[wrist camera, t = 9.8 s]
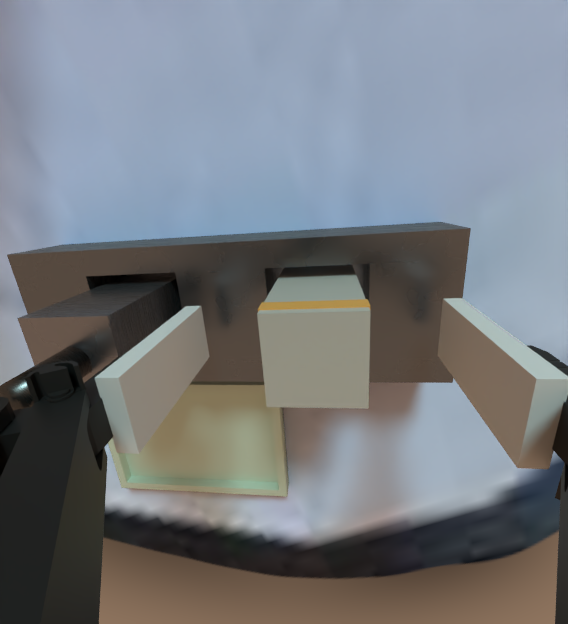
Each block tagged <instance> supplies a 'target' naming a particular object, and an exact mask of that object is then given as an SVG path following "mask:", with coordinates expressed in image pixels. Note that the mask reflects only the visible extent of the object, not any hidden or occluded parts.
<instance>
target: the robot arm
mask: <svg viewBox="0 0 568 624" xmlns="http://www.w3.org/2000/svg"><path fill="white" fill-rule="evenodd" d="M438 357H439V358H440V360H441V361H442V362H443V364H444V365H445V367H446V368H447V369H448V371H449V372H450V374H451V375H452V376H453V378H454V379H455V381H456V382H457V383H458V385H459V386H460V388H461V389H462V391H463V392H464V393H465V395H466V396H467V398H468V399H469V400H470V402H471V403H472V405H473V406H474V407H475V409H476V410H477V412H478V413H479V414H480V416H481V417H482V419H483V420H484V421H485V423H486V424H487V426H488V427H489V429H490V430H491V431H492V433H493V434H494V436H495V437H496V438H497V440H498V441H499V443H500V444H501V445H502V447H503V448H504V450H505V451H506V452H507V454H508V455H509V457H510V458H511V459H512V461H513V462H514V464H515V465H516V467H517V468H532V469H549V466H550V462H551V458H552V454H553V450H554V451H555V452H556V453H557V455H558V456H559V457H560V458H561V459H562V460H563V461H564V462H565V464H564V467H563V471H562V475H561V478H560V482H559V486H558V489H557V493H556V496H555V498H557V499H559V500H560V519H559V544H558V568H557V592H556V616H555V624H568V366H567V365H565V364H564V363H563V362H560V360H558V359H557V358H555V357H554V356H553V355H551V354H550V353H548V352H546V351H543V350H541V349H539V348H536V347H534V346H526V345H525V344H523V343H522V342H521V341H519V340H518V339H517V338H515V337H514V336H513V335H511V334H510V333H508V332H507V331H506V330H504V329H503V328H502V327H500V326H499V325H498V324H496V323H495V322H494V321H492V320H491V319H489V318H488V317H487V316H485V315H484V314H483V313H481V312H480V311H479V310H477V309H476V308H475V307H473V306H472V305H470V304H469V303H468V302H466V301H465V300H464V299H462V298H446V299H443V304H442V314H441V325H440V335H439V345H438ZM208 358H209V351H208V344H207V338H206V332H205V326H204V320H203V314H202V307H201V306H186V307H185V308H183V309H182V310H181V311H179V312H178V313H177V314H176V315H174V316H173V317H172V318H170V319H169V320H168V321H167V322H165V323H164V324H163V325H161V326H160V327H159V328H158V329H156V330H155V331H154V332H153V333H151V334H150V335H149V336H147V337H146V338H145V339H144V340H142V341H141V342H140V343H138V344H137V345H136V346H135V347H133V348H132V349H131V350H129V351H128V352H127V353H125V354H123V355H121V356H118V357H117V358H116V359H114V360H113V361H112V362H111V363H109V365H107V366H105V367H104V368H103V369H102V371H99V372H98V373H96V374H95V375H94V376H92V377H91V378H90V379H88V380H87V381H86V382H85V383H84V382H83V379H82V376H81V372H80V369H79V366H78V363H77V362H75V361H62V362H56V363H52V364H49V365H45V366H43V367H41V368H38V369H36V370H34V371H32V372H31V373H29V374H28V375H27V376H26V377H25V380H26V383H27V386H28V388H29V391H30V394H31V396H32V399H33V401H34V404H33V406H32V407H30V408H24V409H18V410H13V409H12V407H11V405H10V402H9V400H8V398H6V397H0V624H99V606H100V605H99V604H100V587H101V567H102V549H103V530H104V511H105V492H106V473H107V455H106V452H105V449H104V447H105V446H106V444H107V443H108V442H109V441H110V440H111V439H112V438H113V441H114V445H115V448H116V451H117V453H131V454H139V453H140V452H141V451H142V449H143V448H144V446H145V445H146V444H147V442H148V441H149V440H150V438H151V437H152V435H153V434H154V433H155V431H156V430H157V429H158V427H159V426H160V424H161V423H162V422H163V420H164V419H165V418H166V416H167V415H168V413H169V412H170V411H171V409H172V408H173V407H174V405H175V404H176V402H177V401H178V400H179V398H180V397H181V395H182V394H183V393H184V391H185V390H186V389H187V387H188V386H189V384H190V383H191V382H192V380H193V379H194V378H195V376H196V375H197V373H198V372H199V371H200V369H201V368H202V367H203V365H204V364H205V362H206V361H207V360H208Z"/></svg>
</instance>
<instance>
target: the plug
mask: <svg viewBox="0 0 568 624" xmlns="http://www.w3.org/2000/svg"><path fill="white" fill-rule="evenodd" d="M257 318H258V327H259V337H260V347H261V357H262V366H263V376H264V386H265V395H266V405H267V407H288V408H354V409H369V361H370V304H369V301H368V299H366V298H365V296H364V293H363V291H362V288H361V286H360V283H359V281H358V278H357V276H356V273H355V271H354V268H353V266H352V265H347V266H324V267H302V268H284V269H283V271H282V272H281V274H280V276H279V277H278V279H277V281H276V282H275V284H274V286H273V288H272V289H271V291H270V293H269V294H268V296H267V298H266V300H265V301H264V302H262V303H261V304H260V306H259V308H258V313H257Z"/></svg>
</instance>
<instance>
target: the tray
mask: <svg viewBox="0 0 568 624" xmlns="http://www.w3.org/2000/svg"><path fill="white" fill-rule="evenodd" d="M108 444H109V448H110V451H111V454H112V457H113V461H114V464H115V467H116V470H117V474H118V477H119V480H120V483H121V487H122V488H136V489H154V490H173V491H192V492H211V493H229V494H248V495H267V496H286V497H287V494H288V487H289V479H288V467H287V456H286V444H285V432H284V420H283V408H282V407H267V405H266V395H265V386H264V382H207V381H192V382H191V383H190V384H189V386H188V387H187V389H186V390H185V391H184V393H183V394H182V395H181V397H180V398H179V400H178V401H177V402H176V404H175V405H174V407H173V408H172V409H171V411H170V412H169V413H168V415H167V416H166V418H165V419H164V420H163V422H162V423H161V424H160V426H159V427H158V429H157V430H156V431H155V433H154V434H153V435H152V437H151V438H150V440H149V441H148V442H147V444H146V445H145V446H144V448H143V449H142V451H141V452H140V453H139V454H131V453H117V451H116V448H115V445H114V441H113V438H112V439H111V440H110V441H109V442H108Z"/></svg>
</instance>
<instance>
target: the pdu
mask: <svg viewBox="0 0 568 624" xmlns="http://www.w3.org/2000/svg"><path fill="white" fill-rule="evenodd" d="M470 229H471V228H467V227H462V226H457V225H452V224H448V223H443V222H433V223H416V224H400V225H383V226H367V227H350V228H334V229H317V230H301V231H284V232H268V233H251V234H234V235H218V236H201V237H185V238H168V239H152V240H135V241H119V242H102V243H86V244H69V245H59V246H54V247H48V248H42V249H37V250H31V251H26V252H20V253H15V254H9V255H7V256H8V259H9V262H10V265H11V268H12V270H13V273H14V276H15V279H16V282H17V285H18V287H19V290H20V293H21V296H22V299H23V302H24V304H25V307H26V310H27V313H28V315H25V316H22V317H20V318H18V321H19V323H20V326H21V329H22V332H23V334H24V337H25V340H26V343H27V345H28V348H29V351H30V354H31V356H32V359H33V362H34V365H35V366H34V367H32V368H30V369H28V370H27V371H25V372H23V373H22V374H20V375H18V376H16V377H15V378H13V379H11V380H9V381H8V382H6V383H4V384H3V385H1V386H0V397H6V398H8V400H9V402H10V405H11V407H12V409H13V410H18V409H24V408H30V407H32V406H33V404H34V401H33V399H32V396H31V394H30V391H29V388H28V386H27V383H26V380H25V377H26V376H27V375H28V374H29V373H31V372H32V371H34V370H36V369H38V368H41V367H43V366H45V365H49V364H52V363H56V362H62V361H75V362H77V363H78V366H79V369H80V372H81V376H82V379H83V382H84V383H85V382H86V381H87V380H88V379H90V378H91V377H92V376H94V375H95V374H96V373H98V372H99V371H102V369H103V368H104V367H105V366H107V365H109V363H111V362H112V361H113V360H114V359H116V358H117V357H118V356H121V355H123V354H125V353H127V352H128V351H129V350H131V349H132V348H133V347H135V346H136V345H137V344H138V343H140V342H141V341H142V340H144V339H145V338H146V337H147V336H149V335H150V334H151V333H153V332H154V331H155V330H156V329H158V328H159V327H160V326H161V325H163V324H164V323H165V322H167V321H168V320H169V319H170V318H172V317H173V316H174V315H176V314H177V313H178V312H179V311H181V310H182V309H183V308H185V307H186V306H201V307H202V314H203V320H204V326H205V332H206V338H207V344H208V351H209V358H208V360H207V361H206V362H205V364H204V365H203V367H202V368H201V369H200V371H199V372H198V373H197V375H196V376H195V378H194V379H193V380H192V381H207V382H264V376H263V366H262V357H261V347H260V337H259V327H258V318H257V313H258V308H259V306H260V304H261V303H262V302H264V301H265V300H266V298H267V296H268V294H269V293H270V291H271V289H272V288H273V286H274V284H275V282H276V281H277V279H278V277H279V276H280V274H281V272H282V271H283V269H284V268H302V267H324V266H347V265H352V266H353V268H354V271H355V273H356V276H357V278H358V281H359V283H360V286H361V288H362V291H363V293H364V296H365V298H366V299H368V301H369V304H370V361H369V382H449V383H452V382H453V376H452V375H451V374H450V372H449V371H448V369H447V368H446V367H445V365H444V364H443V362H442V361H441V360H440V358H439V357H438V345H439V335H440V325H441V314H442V304H443V299H446V298H462V297H463V288H464V280H465V271H466V263H467V254H468V246H469V237H470Z"/></svg>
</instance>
